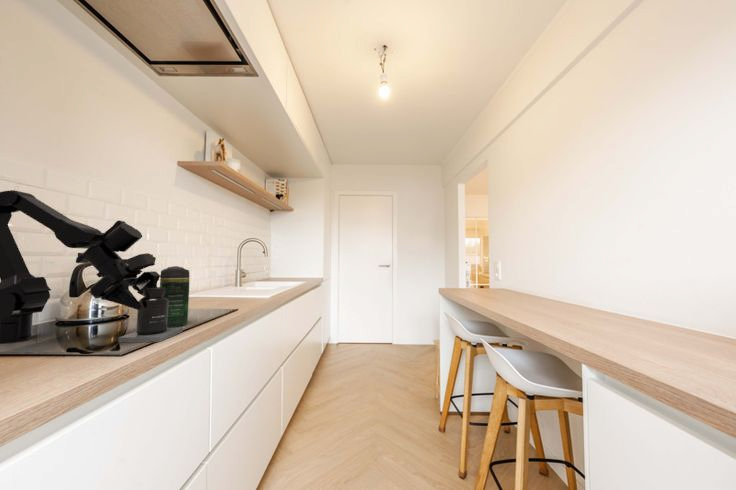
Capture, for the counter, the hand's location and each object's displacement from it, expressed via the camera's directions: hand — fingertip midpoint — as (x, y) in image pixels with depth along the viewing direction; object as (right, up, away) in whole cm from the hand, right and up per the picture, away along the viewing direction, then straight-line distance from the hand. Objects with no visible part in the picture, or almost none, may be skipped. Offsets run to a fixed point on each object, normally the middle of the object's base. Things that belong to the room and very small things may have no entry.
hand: (151, 305), depth 78 cm
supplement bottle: (0, -7, 0) cm, 7 cm away
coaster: (+1, -8, 0) cm, 8 cm away
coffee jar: (-3, -9, +14) cm, 17 cm away
